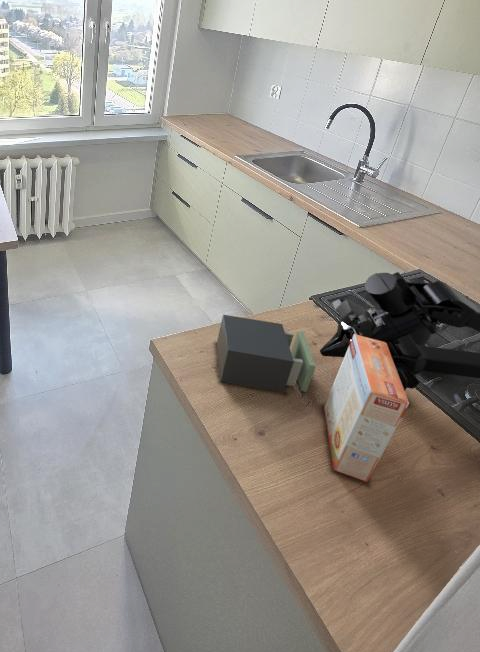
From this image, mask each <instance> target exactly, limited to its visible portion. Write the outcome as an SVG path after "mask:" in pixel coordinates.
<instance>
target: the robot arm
mask: <svg viewBox="0 0 480 652" xmlns="http://www.w3.org/2000/svg"><path fill="white" fill-rule="evenodd" d="M364 289H365V291H366V292H367V293H368V295H369V296H370V297H371V298H372V299H373V301H374V302H375V303H376V304H377V305H378V307H379V308H380V309H381V310H380V311H378V310H377V308H376V307H375V308H370V309H365V308H364V307H362V306H361V305H359V304H357V303H356V302H354V301H353V300H351V299H348V298H346V299H343V298H339V299H336V300H334V301H332V302H331V304H332V306H333V308H334V310H335V311H336V312H337V313H338V315H339V320H338V321H337V329H336V333H334V335H333V336H332V337H331V338H330V340H328V341H327V342H326V343H325V344H324V345H323V346H322V348H320V349H319V353H320V355H321V356H322V357H328V358H329V357H332V358H344V357H345V354H346V352H347V349H348V347H349V344H350V342H351V339H352V337H353V335H354V334H356V335H360V336H363V337H367V338H371V339H375V340H379V341H383V342H386V343H387V345H388V348H389V351H390V354H391V356H392V359H393V362H394V365H395V367H396V370H397V373H398V375H399V378H400V381H401V383H402V386H403V388H404V391H405V392H406V390H407V389H415V388H416V387H417V386H419V385H420V382H421V381H420V380H419V379H418V377H417V375H418V374H419V373H421V372H426V373H427V372H429V373H437V374H443V375H451V376H459V377H465V378H474V379H480V352H475V351H468V350H459V349H451V348H442V347H435V346H427V345H425V346H420V345H417V344H415V343H414V341H413V340H412V338H411V337H410V335H409V334H411V333H413V332H416V331H418V330H421V329H423V328H425V327H426V328H427V329H428V330H429V331H430V333H431V335H435V334H436V331H437V326H438V324H439V323H440V324H444V325H447V326H451V327H454V328H470V329H473V330H475V331H477V332H480V305H479V304H476V303H474V302H472V300H470V299H468V298H467V297H466V296H464V295H463V294H462V293H460V292H459V291H458V290H457V289H455V288H453V287H452V286H451V285H449V284H448V283H446V282H444V281H441V280H440V281H434V282H421V281H419V282H417V281H406V279H405V278H404V277H403V276H402V275H401V273H400V272H398V271H397V272H394V273H389V272H379V273H378V272H376V273H373V274H372V275H370V276H369V277H368V278H367V279H366V280H365V282H364Z"/></svg>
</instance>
